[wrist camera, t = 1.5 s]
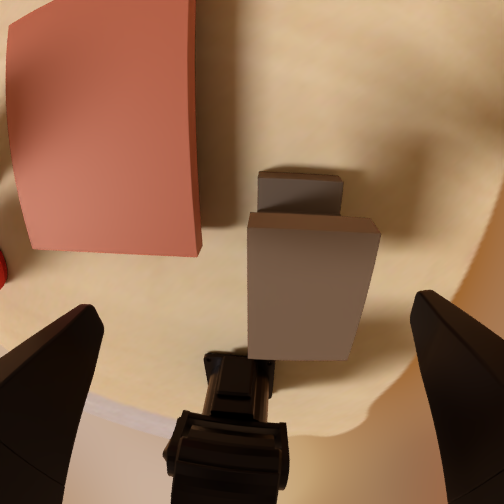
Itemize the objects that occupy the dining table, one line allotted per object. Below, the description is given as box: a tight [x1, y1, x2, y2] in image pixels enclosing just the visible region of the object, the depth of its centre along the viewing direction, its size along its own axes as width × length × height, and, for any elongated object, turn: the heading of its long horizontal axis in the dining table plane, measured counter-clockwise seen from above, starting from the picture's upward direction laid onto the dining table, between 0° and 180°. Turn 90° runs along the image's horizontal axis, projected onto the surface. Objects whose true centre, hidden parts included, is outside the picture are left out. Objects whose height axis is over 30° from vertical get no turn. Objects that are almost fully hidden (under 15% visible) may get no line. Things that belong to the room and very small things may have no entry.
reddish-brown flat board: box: [6, 0, 203, 257], centre depth 15 cm, size 18×14×3 cm
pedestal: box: [247, 172, 381, 361], centre depth 16 cm, size 7×5×8 cm
